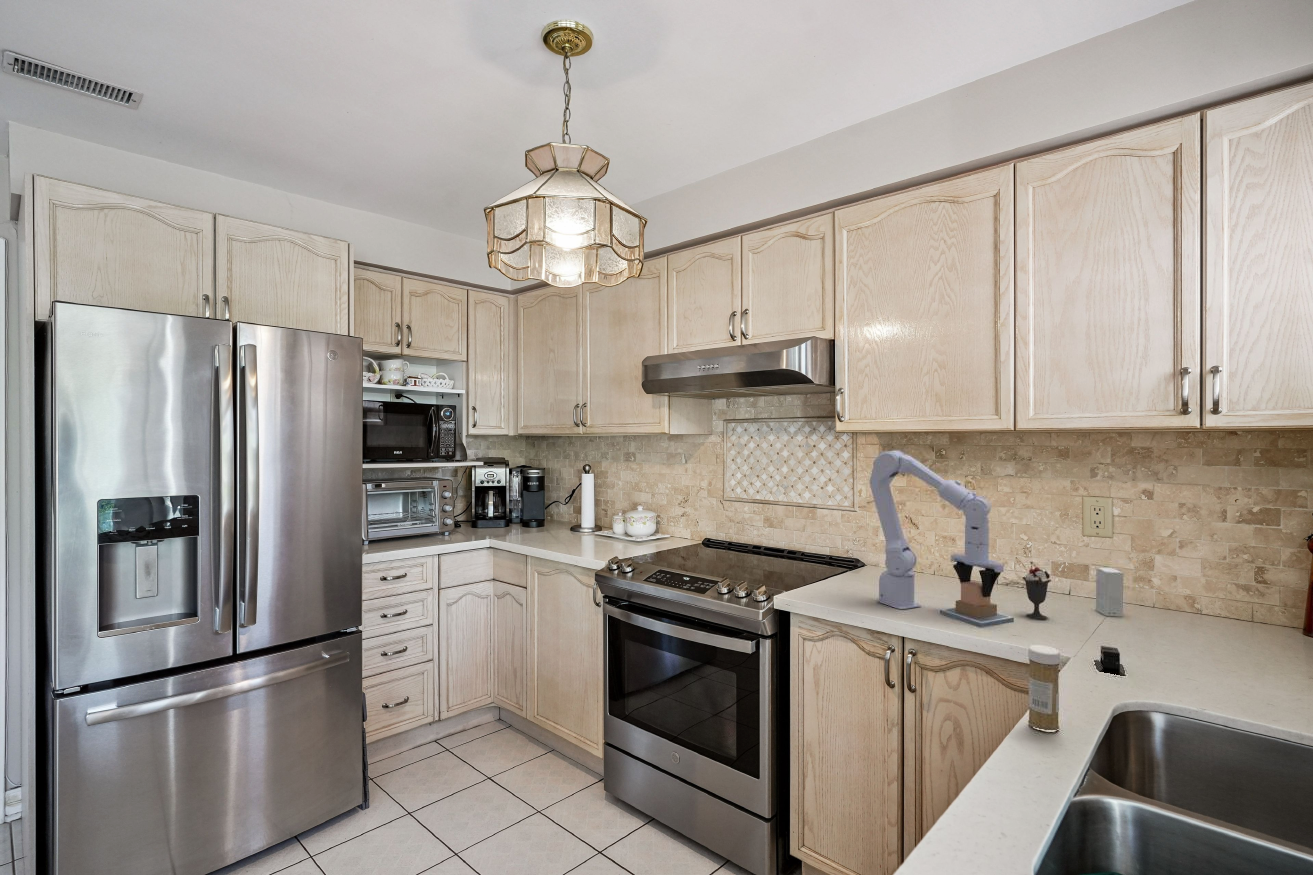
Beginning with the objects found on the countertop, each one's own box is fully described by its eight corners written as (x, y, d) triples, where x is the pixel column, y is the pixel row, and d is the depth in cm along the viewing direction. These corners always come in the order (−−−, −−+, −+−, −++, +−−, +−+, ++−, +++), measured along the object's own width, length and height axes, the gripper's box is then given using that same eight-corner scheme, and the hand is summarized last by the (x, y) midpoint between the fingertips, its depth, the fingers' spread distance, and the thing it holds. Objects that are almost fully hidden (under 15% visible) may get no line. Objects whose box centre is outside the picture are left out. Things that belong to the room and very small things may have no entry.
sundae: (1021, 618, 168) (1021, 561, 168) (1023, 612, 174) (1023, 557, 174) (1050, 621, 165) (1050, 564, 165) (1051, 615, 170) (1051, 560, 170)
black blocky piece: (1086, 658, 141) (1086, 637, 141) (1127, 664, 137) (1127, 643, 137) (1093, 677, 130) (1093, 655, 130) (1137, 684, 126) (1137, 662, 126)
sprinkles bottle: (1065, 730, 106) (1066, 651, 106) (1047, 736, 104) (1048, 654, 104) (1039, 719, 110) (1040, 642, 110) (1021, 724, 108) (1022, 646, 108)
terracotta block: (960, 601, 170) (960, 582, 170) (974, 599, 172) (974, 580, 172) (976, 606, 165) (977, 586, 165) (990, 603, 167) (990, 585, 167)
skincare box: (1123, 617, 169) (1124, 572, 169) (1105, 616, 170) (1106, 571, 170) (1112, 610, 175) (1112, 567, 175) (1094, 609, 176) (1095, 567, 176)
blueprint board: (939, 613, 172) (939, 598, 172) (971, 608, 177) (971, 594, 177) (981, 627, 161) (981, 611, 160) (1013, 621, 165) (1013, 606, 165)
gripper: (943, 539, 174) (942, 588, 174) (990, 548, 160) (989, 602, 161) (961, 537, 176) (961, 586, 177) (1009, 546, 163) (1008, 598, 163)
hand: (976, 593), depth 169 cm, fingers open, 6 cm apart
